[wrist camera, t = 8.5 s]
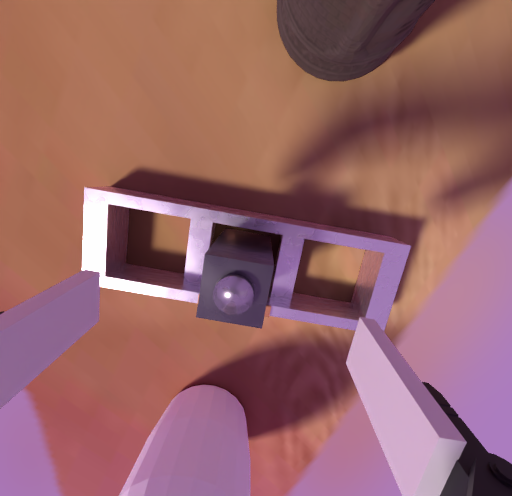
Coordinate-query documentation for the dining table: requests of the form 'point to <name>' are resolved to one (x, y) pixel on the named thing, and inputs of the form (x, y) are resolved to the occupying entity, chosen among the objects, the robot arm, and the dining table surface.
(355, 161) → the dining table surface
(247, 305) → the square peg with dome
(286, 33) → the beer stein
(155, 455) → the bottle
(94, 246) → the frame with square openings
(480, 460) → the robot arm
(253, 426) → the dining table surface
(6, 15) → the dining table surface
